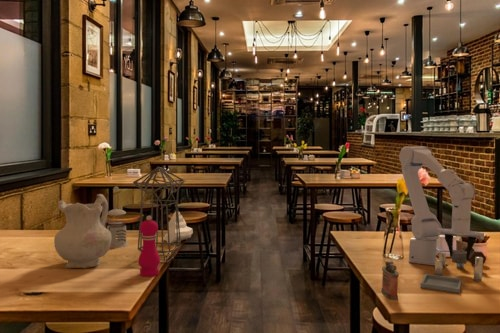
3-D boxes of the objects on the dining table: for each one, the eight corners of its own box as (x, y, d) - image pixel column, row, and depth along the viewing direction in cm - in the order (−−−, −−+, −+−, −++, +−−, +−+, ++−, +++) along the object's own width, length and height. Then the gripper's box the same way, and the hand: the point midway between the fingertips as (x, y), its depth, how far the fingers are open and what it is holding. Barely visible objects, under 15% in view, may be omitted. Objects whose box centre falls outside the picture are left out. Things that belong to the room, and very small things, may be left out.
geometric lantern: (131, 263, 169) (129, 168, 166) (151, 252, 184) (150, 165, 181) (170, 267, 164) (169, 169, 162) (188, 255, 179) (187, 166, 177)
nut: (451, 262, 158) (452, 252, 158) (452, 259, 163) (453, 249, 162) (465, 264, 156) (466, 254, 156) (466, 261, 161) (467, 250, 160)
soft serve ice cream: (156, 246, 201) (152, 213, 203) (179, 242, 213) (175, 212, 215) (176, 242, 194) (172, 209, 196) (200, 239, 206) (195, 207, 208)
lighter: (379, 290, 142) (380, 258, 141) (389, 290, 142) (390, 258, 141) (389, 300, 134) (390, 266, 133) (400, 299, 134) (401, 266, 133)
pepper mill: (164, 272, 159) (163, 214, 157) (153, 278, 152) (152, 218, 150) (145, 269, 161) (145, 213, 160) (134, 275, 154) (133, 216, 153)
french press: (133, 244, 198) (133, 186, 196) (112, 249, 188) (111, 188, 186) (117, 241, 203) (117, 184, 201) (96, 246, 193) (95, 187, 191)
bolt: (466, 259, 184) (480, 269, 169) (455, 253, 185) (467, 262, 170) (474, 247, 183) (488, 256, 169) (462, 240, 184) (476, 248, 169)
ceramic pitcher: (80, 256, 181) (74, 193, 179) (126, 256, 177) (120, 191, 175) (45, 273, 160) (38, 202, 158) (96, 273, 156) (89, 200, 154)
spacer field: (434, 275, 157) (434, 260, 157) (439, 264, 170) (439, 251, 170) (481, 281, 150) (482, 266, 150) (482, 270, 164) (483, 256, 163)
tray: (420, 287, 144) (420, 283, 144) (425, 278, 154) (425, 273, 154) (459, 293, 139) (459, 288, 139) (461, 283, 149) (461, 278, 149)
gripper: (437, 218, 158) (435, 257, 159) (484, 222, 151) (482, 263, 152) (439, 215, 164) (437, 252, 165) (484, 218, 158) (483, 258, 159)
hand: (459, 257), depth 159 cm, fingers closed on nut, 4 cm apart
